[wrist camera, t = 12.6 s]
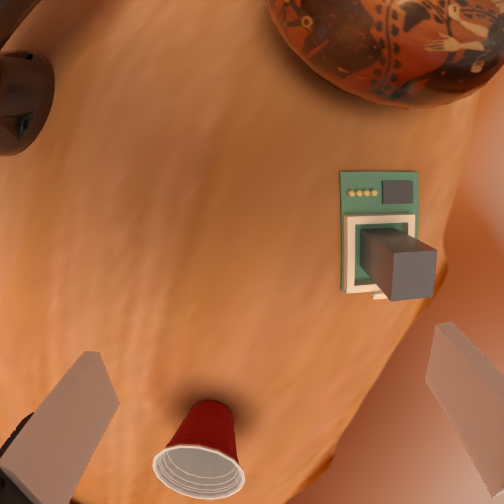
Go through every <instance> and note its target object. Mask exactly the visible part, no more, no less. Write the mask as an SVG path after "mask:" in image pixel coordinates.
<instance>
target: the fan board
mask: <svg viewBox="0 0 504 504" xmlns="http://www.w3.org/2000/svg"><path fill="white" fill-rule="evenodd" d="M339 179H340V204H341V291H342V292H346V293H360V292H372V295H371V297H372V298H373V300H374V299H385V298H387V296H386V295H385V294H384V293H383V292H382V290H381V289H380V288H379V287H378V286H377V285H376V284H375V282H374V281H373V280H372V279H371V278H370V277H369V275H368V274H367V273H366V272H365V271H364V270H363V269H362V268H361V266H360V229H376V228H396V229H398V230H400V231H402V232H404V233H406V234H408V235H409V236H411V237H413V238H415V239H417V240H418V205H419V198H418V172H388V171H359V172H339Z"/></svg>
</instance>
